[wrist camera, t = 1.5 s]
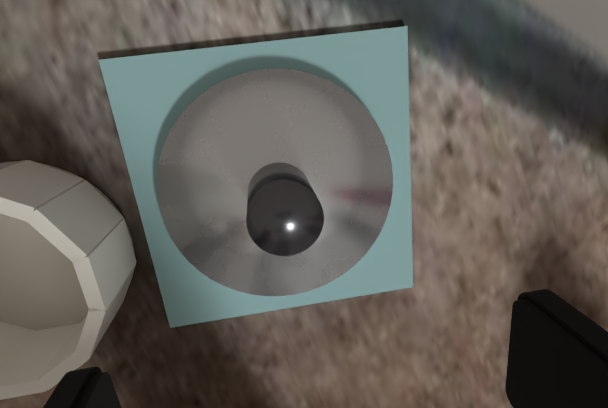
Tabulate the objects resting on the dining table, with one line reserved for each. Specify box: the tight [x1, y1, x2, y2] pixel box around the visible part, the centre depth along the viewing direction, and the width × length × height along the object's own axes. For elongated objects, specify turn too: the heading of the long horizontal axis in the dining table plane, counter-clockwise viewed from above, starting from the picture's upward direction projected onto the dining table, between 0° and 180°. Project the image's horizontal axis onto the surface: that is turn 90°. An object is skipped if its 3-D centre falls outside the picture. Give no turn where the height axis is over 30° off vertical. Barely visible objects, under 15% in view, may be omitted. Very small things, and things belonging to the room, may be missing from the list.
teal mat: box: [99, 26, 413, 328], centre depth 25 cm, size 18×18×1 cm
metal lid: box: [157, 68, 393, 296], centre depth 22 cm, size 15×15×6 cm
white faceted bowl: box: [0, 160, 137, 400], centre depth 22 cm, size 12×12×6 cm
